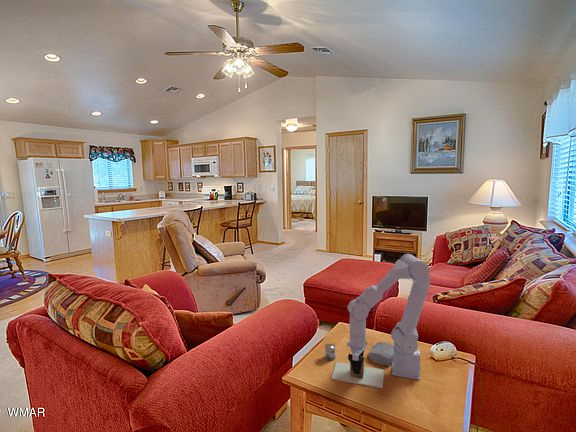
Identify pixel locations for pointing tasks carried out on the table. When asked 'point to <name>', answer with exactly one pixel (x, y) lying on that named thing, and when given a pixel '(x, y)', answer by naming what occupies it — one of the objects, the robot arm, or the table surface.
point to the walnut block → (360, 371)
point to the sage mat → (370, 378)
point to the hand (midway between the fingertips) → (357, 367)
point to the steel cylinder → (330, 352)
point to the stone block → (382, 353)
